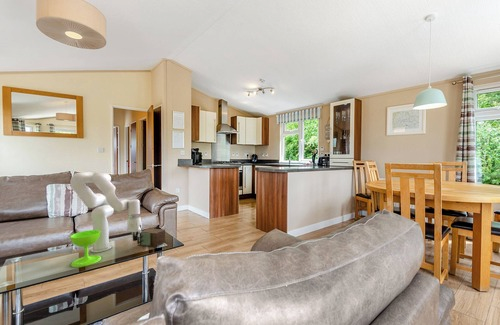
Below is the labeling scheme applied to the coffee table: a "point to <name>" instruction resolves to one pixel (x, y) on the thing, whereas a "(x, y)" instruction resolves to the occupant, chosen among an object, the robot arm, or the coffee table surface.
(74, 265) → the wineglass
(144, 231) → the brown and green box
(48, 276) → the coffee table surface
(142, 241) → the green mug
